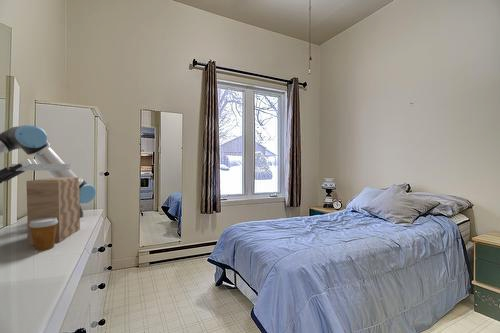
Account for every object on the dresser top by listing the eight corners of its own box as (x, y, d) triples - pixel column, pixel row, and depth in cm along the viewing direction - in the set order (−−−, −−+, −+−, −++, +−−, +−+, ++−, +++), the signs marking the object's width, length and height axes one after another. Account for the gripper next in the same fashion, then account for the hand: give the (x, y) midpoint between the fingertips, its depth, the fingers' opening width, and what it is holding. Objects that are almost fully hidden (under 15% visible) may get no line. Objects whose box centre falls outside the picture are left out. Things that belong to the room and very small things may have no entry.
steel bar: (15, 170, 114) (15, 164, 114) (69, 170, 119) (69, 163, 119) (9, 170, 111) (9, 164, 111) (66, 170, 116) (66, 163, 116)
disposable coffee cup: (64, 245, 107) (63, 218, 107) (39, 253, 98) (38, 223, 98) (49, 243, 110) (48, 216, 110) (23, 250, 101) (23, 221, 101)
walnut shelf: (53, 231, 130) (52, 177, 129) (80, 229, 133) (79, 177, 132) (27, 244, 108) (26, 180, 108) (59, 242, 111) (58, 180, 111)
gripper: (-2, 192, 118) (47, 167, 123) (-32, 197, 102) (26, 168, 107) (-12, 179, 117) (38, 154, 122) (-44, 182, 101) (15, 153, 106)
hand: (32, 161), depth 114 cm, fingers closed on steel bar, 3 cm apart
